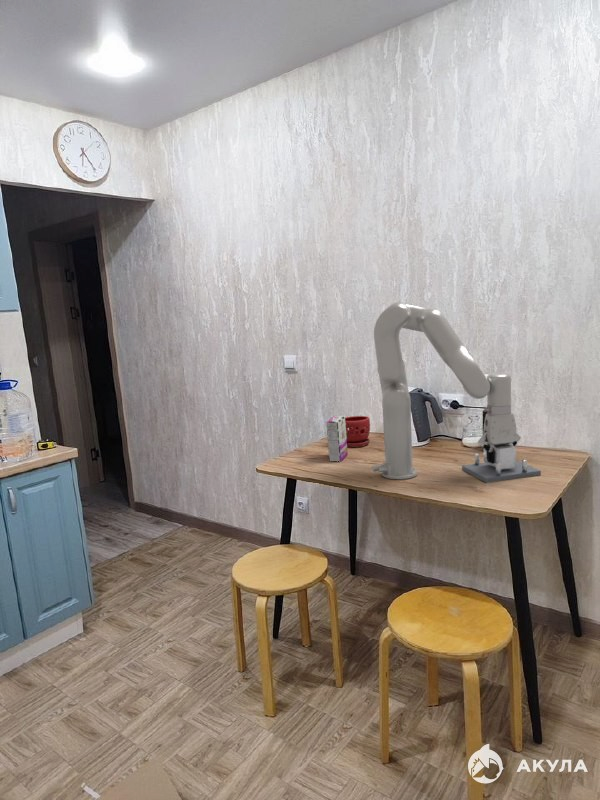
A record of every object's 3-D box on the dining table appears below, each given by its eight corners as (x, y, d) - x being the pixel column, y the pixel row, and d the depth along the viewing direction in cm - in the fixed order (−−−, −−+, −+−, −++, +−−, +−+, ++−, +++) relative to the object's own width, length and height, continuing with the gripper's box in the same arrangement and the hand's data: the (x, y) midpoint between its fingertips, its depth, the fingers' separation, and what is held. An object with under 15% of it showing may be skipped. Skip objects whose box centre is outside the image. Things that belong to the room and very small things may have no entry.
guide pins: (497, 476, 179) (497, 464, 179) (473, 464, 194) (473, 453, 193) (528, 472, 181) (528, 460, 181) (502, 460, 196) (502, 449, 195)
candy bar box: (336, 454, 226) (334, 415, 223) (348, 454, 224) (345, 415, 222) (328, 462, 216) (325, 421, 213) (340, 462, 214) (338, 421, 211)
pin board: (486, 482, 178) (486, 478, 178) (462, 469, 194) (462, 465, 194) (540, 475, 182) (540, 470, 182) (512, 462, 198) (512, 458, 197)
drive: (499, 469, 182) (499, 448, 181) (483, 461, 192) (483, 442, 191) (516, 467, 183) (516, 446, 182) (499, 459, 193) (499, 440, 192)
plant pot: (373, 441, 244) (371, 414, 242) (367, 448, 232) (366, 421, 230) (344, 441, 248) (343, 415, 246) (337, 448, 236) (336, 421, 234)
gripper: (481, 414, 179) (482, 467, 182) (528, 409, 182) (528, 461, 185) (470, 410, 186) (470, 461, 189) (515, 405, 190) (515, 455, 193)
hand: (499, 460), depth 187 cm, fingers closed on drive, 6 cm apart
